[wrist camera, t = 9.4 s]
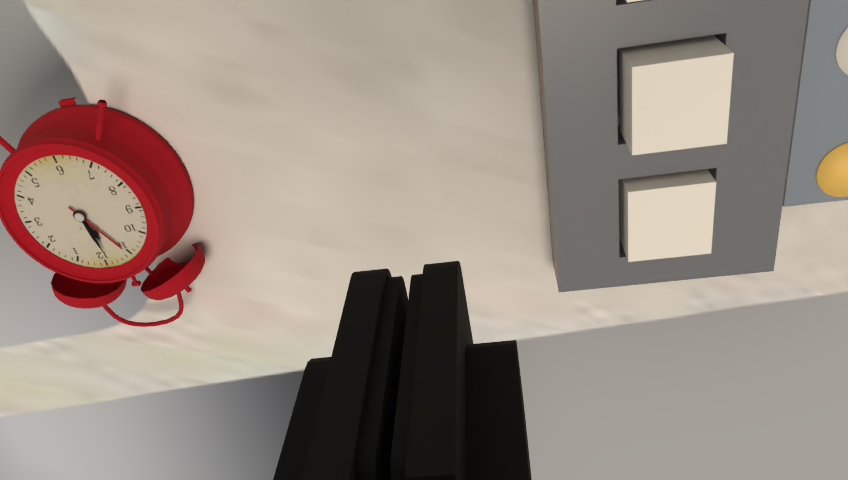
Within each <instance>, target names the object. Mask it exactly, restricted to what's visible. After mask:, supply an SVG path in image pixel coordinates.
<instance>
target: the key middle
mask: <svg viewBox="0 0 848 480" xmlns="http://www.w3.org/2000/svg"><path fill="white" fill-rule="evenodd" d="M733 58H734V53H733V52H732V51H731V50H730V49H729V48H728V47H726V46H725V45H724V44H723V43H722V42H721V41H720V40H719V39H717V38H716V37H715V36H714V35H709V36H702V37H695V38H688V39H681V40H674V41H667V42H660V43H653V44H646V45H639V46H632V47H625V48H619V82H620V132H621V134H622V136H623V138H624V140H625V142H626V144H627V146H628V148H629V150H630V152H631V154H632V155H640V154H648V153H656V152H664V151H672V150H681V149H689V148H697V147H705V146H713V145H721V144H727V135H728V122H729V109H730V96H731V83H732V71H733Z"/></svg>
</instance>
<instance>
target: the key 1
mask: <svg viewBox="0 0 848 480" xmlns="http://www.w3.org/2000/svg"><path fill="white" fill-rule="evenodd" d="M618 186H619V238H620V241H621V244H622V246H623V249H624V252H625V255H626V257H627V260H628V262H634V261H644V260H653V259H663V258H673V257H682V256H692V255H702V254H711V249H712V235H713V221H714V207H715V193H716V181H715V179H714V178H713V176H712V175H711V173H710V172H709V171H708V169H702V170H694V171H686V172H677V173H669V174H660V175H652V176H643V177H635V178H627V179H618Z"/></svg>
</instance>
